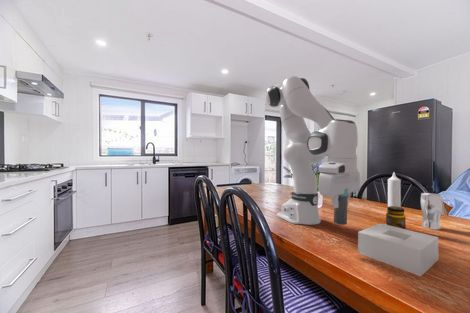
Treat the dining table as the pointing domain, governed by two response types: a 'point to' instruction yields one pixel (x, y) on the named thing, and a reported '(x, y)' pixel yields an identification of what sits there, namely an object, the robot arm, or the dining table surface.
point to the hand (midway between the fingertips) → (340, 206)
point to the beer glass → (431, 210)
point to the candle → (394, 191)
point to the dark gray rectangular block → (341, 209)
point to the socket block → (399, 247)
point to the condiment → (395, 217)
